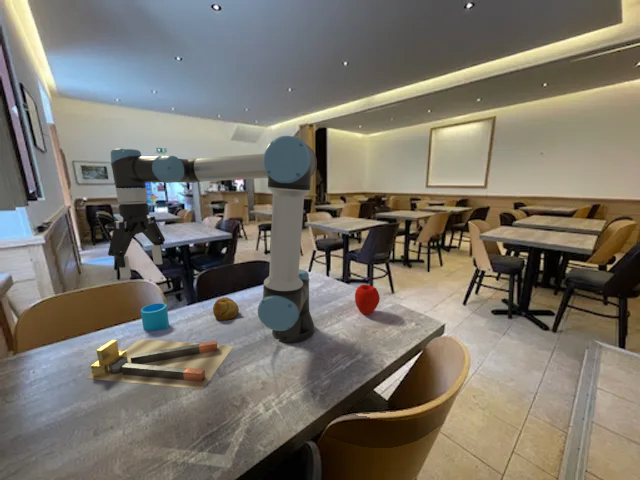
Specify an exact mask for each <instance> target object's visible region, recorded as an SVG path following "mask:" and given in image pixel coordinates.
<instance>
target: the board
mask: <svg viewBox="0 0 640 480" xmlns="http://www.w3.org/2000/svg"><path fill="white" fill-rule="evenodd" d="M200 343H201V342H200ZM200 343H198V342H195V343H194V342H185V341H170V340H158V339H157V340H156V339H142V338H140V339H139V340H136V342H134V343H133V344H131V345H130V346H129V347H128V348H126V349H125V350H124V351H126V353H127V360H128V363H130V364H131V357H132V355H135V354H141V353H147V352H153V351H159V350H165V349H171V348H177V347H183V346H189V345H195V344H200ZM234 347H235V346H234V345H225V344H217V351H213V352H208V353H202V354H195V355H189V356H184V357H178V358H172V359H167V360H161V361H155V362H150V363H144V364H142V365H154V366H166V367H177V368H196V369H205V379H204V380H203V381H202V382H195V381H184V380H176V379H165V378H154V377H143V376H132V375H123V373H122V372H121V373H118V374H110V373H109V375H108V376H107V377H100V376H93V374H92V373H91V374H90V375H89V376H88V377H86V379H87V380H97V381H108V382H117V383H118V382H119V383H129V384H140V385H151V386H162V387H163V386H164V387H171V388H183V389H194V390H203V389H204V388H205V387H206V385H207V384H208V383H209V381H210V380H211V378H212V377H213V376H214V374H215V373H216V372H217V370H218V368H219V367H221V364H223V362H224V361H225V359H226V358H227V357H228V355H229V353H230V352H231V351H232V350H233V348H234ZM108 370H109V368H108Z"/></svg>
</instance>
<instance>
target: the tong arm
mask: <svg viewBox="0 0 640 480" xmlns="http://www.w3.org/2000/svg"><path fill="white" fill-rule="evenodd" d="M217 345H218V340H212V341H206V342H200V344H195V345H189V346H183V347H177V348H171V349H165V350H159V351H153V352H147V353H141V354H135V355H132V357H131V364H144V363H150V362H155V361H161V360H167V359H172V358H178V357H184V356H189V355H195V354H202V353H208V352H213V351H217Z"/></svg>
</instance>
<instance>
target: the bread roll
mask: <svg viewBox="0 0 640 480" xmlns="http://www.w3.org/2000/svg"><path fill="white" fill-rule="evenodd" d="M212 310H213V311H212V313H213V315H214V317H215V319H216V320H218V321H221V322H222V321H223V322H224V321H230V320H233V319H234V318H236V316H237V315H238V314H239V312H240V310H239V306H238V304H237V303H236V302H235V301H234V299H231V298H230V297H228V296H226V297H221V298H218V299H217V300H216V301H215V303H213V307H212Z"/></svg>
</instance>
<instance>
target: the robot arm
mask: <svg viewBox="0 0 640 480" xmlns="http://www.w3.org/2000/svg"><path fill="white" fill-rule="evenodd" d="M110 161H111V162H110V165H111V169H112V175H113V179H114V185H115V192H116V197H117V202H118V211H119V216H120V217H122V220H121V221H117V220H116V221H114V222H113V224H112V225H113V232H112V236H111V239H110V245H109V248H108V252H107V254H108V256H109V257H115V259H116V265H117V267H118V268H119V269H118V270H119V274H120V278H122V279H123V278H125V279H127V278H128V279H130V278H131V277H132V273H131V267H130V261H129V255H127V252H128V249H129V246H130V245H131V243H132V240H133V238H134V237H135V236H136V235H138V234H141V233H142V234H143V235H144V236H145V237H146V239H148V240H149V242H150V243H151V244H152V245H151V254H152V259H153V265H163V263H164V262H163V257H162V246H163V245H164V244H165V243H164V242H166V238H165V236H164V234H163V233H162V231H161V229H160V227H159V225H158V223H157V220H156V217H155V216H154V215H153V216H149V215H150V208H149V204H148V203H147V201H149V198H148V193H147V192H148V191H147V187H146V183H165V184H172V183H173V184H174V183H186V184H187V183H188V184H194V183H200V182H215V181H216V182H218V181H221V182H222V181H234V180H235V181H236V180H250V179H251V180H252V179H253V180H254V179H256V180H257V179H267V188H268V190H269V191H270V192H271V193H272V206H271V207H272V209H271V228H270V229H271V230H270V248H269V249H270V250H269V251H270V252H269V272H268V273H269V275H268V276H267V277H266V278H265V279H264V280H263V287H262V288H263V290H262V291H263V292H262V299H261V300H260V302H259V305H258V308H257V316H258V319H259V320H260V322H261V323H262V324H263V325H264V326H265V327H266V328H267V329H269V330H272V332H271V333H272V336H273V337H274V338H275V339H276V340H278V341H280V342H282V343H283V342H284V343H289V344H294V343H295V344H296V343H300V342H305V341H306V340H308V339H310V338H311V337H312V336H313V335H314V333H315V323H314V320H313V317H312V314H311V312H310V275H309V273H308V272H309V271H307V270H305V269H300V260H301V245H302V233H303V231H302V230H303V218H304V206H305V205H304V203H305V200H304V199H305V196H307V194H309V193H310V192H311V183H312V177H313V175H314V174H315V172H316V170H317V163H318V161H317V157H316V154H315V152H314V150H313V149H312V147H310V146H309V144H306V142H305V141H304V140H303V139H302V138H301V139H300V138H298V137H295V136H291V135H280V136H277V137H276V138H274V139H273V140H272V141H270V143H268V145H267V147H266V148H265V150H264V152H263V153H257V154H243V155H241V154H240V155H231V156H229V155H228V156H215V157H213V156H212V157H202V158H200V157H199V158H188V159H187V158H179V157H177V156H175V155H168V154H167V155H165V154H161V155H148V156H147V155H144V156H143V155H142V153H141V151H140V150H138V149H132V148H113V149H111V150H110Z"/></svg>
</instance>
